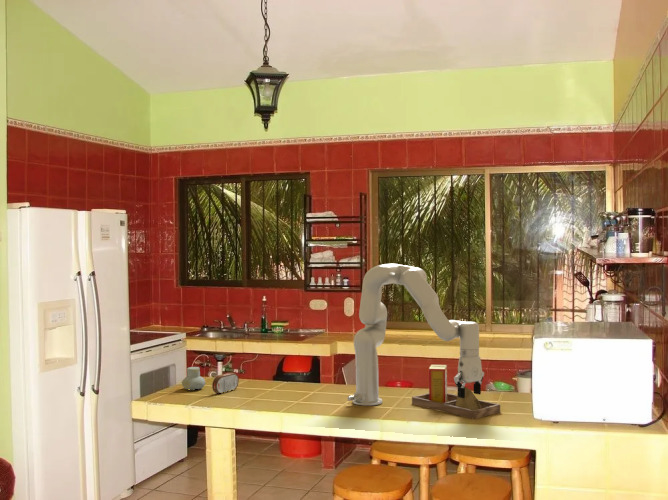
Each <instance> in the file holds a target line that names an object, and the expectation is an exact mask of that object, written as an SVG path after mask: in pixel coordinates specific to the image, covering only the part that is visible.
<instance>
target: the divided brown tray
mask: <svg viewBox="0 0 668 500" xmlns="http://www.w3.org/2000/svg"><path fill="white" fill-rule="evenodd" d="M457 395H458V394H453V393H449V392H447V402H445V403H439V402H435V401H431V400H429V393H427V392H426V393H422V394H419V395H413V396H412V397H411V405H416V406H418V407H422V408H423V407H424V408H426V409H432V410H435V411H440V412H442V413H443V412H444V413H448V414H451V415H456V416H460V417H464V418H467V419H471V420H476V419H480V418H484V417H488V416H492V415H494V414H495V415H496V414H499V413H501V404H499V403H495V402H490V401H485V400H481V399H478V400H479V402H480V405H481V407H482V409H478V410H469V409H465V408H461V407H456V406H455V404H456V400H457Z"/></svg>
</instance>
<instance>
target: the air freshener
mask: <svg viewBox="0 0 668 500" xmlns="http://www.w3.org/2000/svg"><path fill="white" fill-rule="evenodd" d="M200 370H201V369H200V367H199V366H190V367H187V368H186V374H187V375H186V377H185V378H184V379H182V381H181V386H182V387H183V388H184V389H185V390H187V389H190V390H189V391H196V390H195V389H198V390H201V389H202V388H204V387H205V386H206V380H205V378H204V377H202V376H201V371H200ZM193 389H194V390H193Z"/></svg>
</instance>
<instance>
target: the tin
mask: <svg viewBox="0 0 668 500" xmlns="http://www.w3.org/2000/svg"><path fill="white" fill-rule="evenodd" d="M239 383H240V382H239V376H238V375H237V374H236V373H234V372H227V373H223V374H217V376H215V377H214V379H213V381H212V384H211V386H212V387H211V388H212V391H213V392H214V393H215V394H219V393H222V392H226V391H229V390H233V389H235V390H237V388H238V386H239ZM226 393H227V392H226Z"/></svg>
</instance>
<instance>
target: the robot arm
mask: <svg viewBox="0 0 668 500" xmlns="http://www.w3.org/2000/svg"><path fill="white" fill-rule="evenodd" d="M390 284H396V285H402V286H404V288H405V289H406V290H407V292H408V293H409V294H410V296H411V297H412V298H413V300H415V302H416V303H417V305H418V306H419V308H420V309H421V311H422V314H423V316H424V318H425V320H426V322H427V324H428V325H429V327H430V328H431V329H432V331H433V332H434V333H435V334H436V335H437V337H438V338H439V339H441V340H442V341H445V342H450V341H453V340H455V339H459V357H458V358H459V359H458V365H457V373H456V375H455V376H453V381H454V384H455V385H456V387H457V395H458V397H460V398H465V388H464V387H466V384H470V383H473V394H474V395H482V392H481V391H482V384H483V380H484V376H485V372H484V371H483V367H482V357H481V356H480V325H479V323H478V322H476V321H461V320H456V319H448V317H446V314H444V312H443V310H442V309H441V307H440V299H439V296H438V294H437V292H436V291H435V290H434V289H433V288H432V286H431V285H430V283H429V282H428V275H427V273H426V271H425V270H424V269H422V268H420V267H415V266H409V265H403V264H398V263H384V264H378V265H376V266H373V267H372V268H370V269H369V270H367V272H366V273H365V275H364V276H363V281H362V286H361V287H362V289H361V295H360V296H361V297H360V303H359V304H360V305H359V311H358V318H359V320H360V322H361V323H362V324H364V327H363V328H361V329H359V330H357V332H356V333H355V334H354V337H353V347H354V354H355V392H353V393H354V394H353V395H348V396H347V401H349V402H351V401H352V403H353V404H354V405H357V406H363V407H364V406H367V407H368V406H377V405H381V404H382V403H383V399H382V398H381V397H380V396H379V395H380V393H379V391H380V390H379V357H378V356H379V355H378V351H377V350H378V349H377V348H378V347H380V346H381V345H382V344H383V343H384V341H385V338H386V332H387V330H386V329H387V323H388V322H387V321H388V309H387V307H386V305H385V304H384V303H383V302H382V296H383V295H382V292H383V291H382V289H383V288H382V287H383V286H385V285H390Z"/></svg>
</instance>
